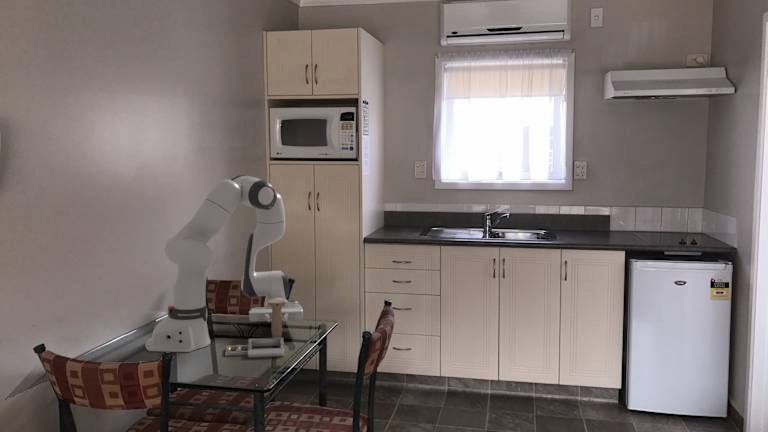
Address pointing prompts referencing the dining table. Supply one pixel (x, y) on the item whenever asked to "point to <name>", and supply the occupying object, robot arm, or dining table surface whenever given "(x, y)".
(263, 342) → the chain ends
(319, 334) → the dining table surface
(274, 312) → the handle
